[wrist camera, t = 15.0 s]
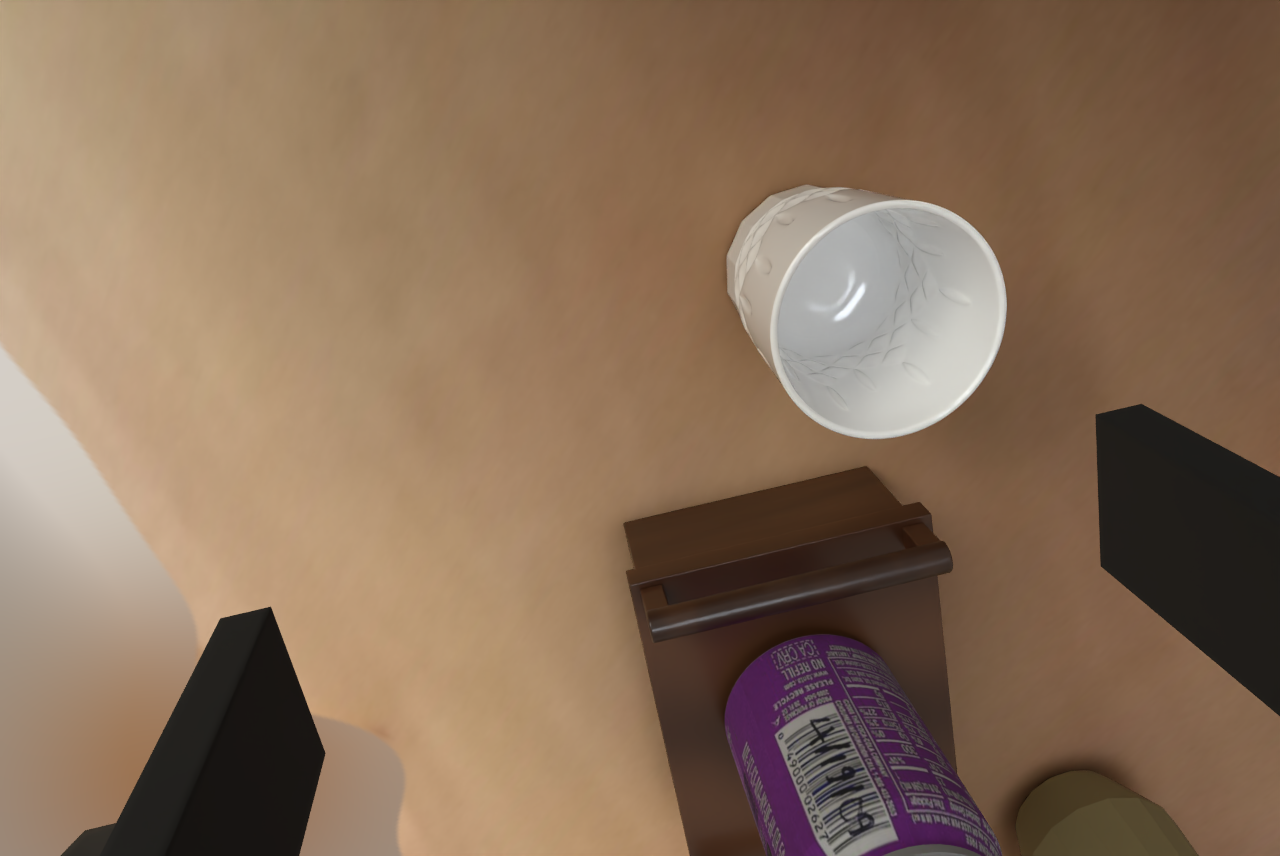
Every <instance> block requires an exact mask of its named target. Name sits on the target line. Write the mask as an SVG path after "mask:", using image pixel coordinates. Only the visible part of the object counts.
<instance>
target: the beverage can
mask: <svg viewBox="0 0 1280 856" xmlns="http://www.w3.org/2000/svg"><path fill="white" fill-rule="evenodd" d="M725 731H726V736H727V740H728V743H729V746H730V749H731V752H732V755H733V758H734V761H735V764H736V767H737V770H738V773H739V775H740V778H741V781H742V784H743V787H744V790H745V793H746V796H747V799H748V802H749V805H750V808H751V811H752V814H753V817H754V820H755V823H756V826H757V829H758V832H759V835H760V838H761V841H762V844H763V847H764V850H765V853H766V856H1002V851H1001V848H1000V845H999V843H998V840H997V838H996V836H995V834H994V832H993V830H992V829H991V827H990V826H989V824H988V822H987V821H986V819H985V818H984V816H983V815H982V813H981V811H980V810H979V808H978V807H977V805H976V804H975V802H974V800H973V799H972V797H971V796H970V794H969V793H968V791H967V790H966V788H965V786H964V785H963V783H962V782H961V780H960V779H959V777H958V775H957V774H956V772H955V771H954V769H953V768H952V766H951V764H950V763H949V761H948V760H947V758H946V757H945V755H944V753H943V752H942V750H941V749H940V747H939V746H938V744H937V742H936V741H935V739H934V738H933V736H932V735H931V733H930V732H929V730H928V728H927V727H926V725H925V724H924V722H923V721H922V719H921V717H920V716H919V714H918V713H917V711H916V710H915V708H914V706H913V705H912V703H911V702H910V700H909V699H908V697H907V695H906V694H905V692H904V691H903V689H902V688H901V686H900V684H899V683H898V681H897V680H896V678H895V677H894V675H893V674H892V672H891V670H890V669H889V667H888V666H887V664H886V663H885V661H884V660H883V659H882V658H881V657H880V656H879V655H878V654H877V653H876V652H875V651H873V650H872V649H871V648H869V647H868V646H866V645H864V644H863V643H861V642H858V641H856V640H853V639H851V638H847V637H843V636H838V635H829V634H817V635H808V636H802V637H798V638H795V639H791V640H788V641H786V642H783V643H781V644H779V645H777V646H775V647H773V648H771V649H769V650H768V651H766V652H765V653H763V654H762V655H761V656H759V657H758V658H757V659H756V660H754V661H753V662H752V663H751V664H750V665H749V666H748V667H747V668H746V669H745V671H744V672H743V673H742V674H741V676H740V677H739V678H738V680H737V682H736V683H735V685H734V687H733V689H732V691H731V693H730V695H729V698H728V701H727V705H726V710H725Z"/></svg>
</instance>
